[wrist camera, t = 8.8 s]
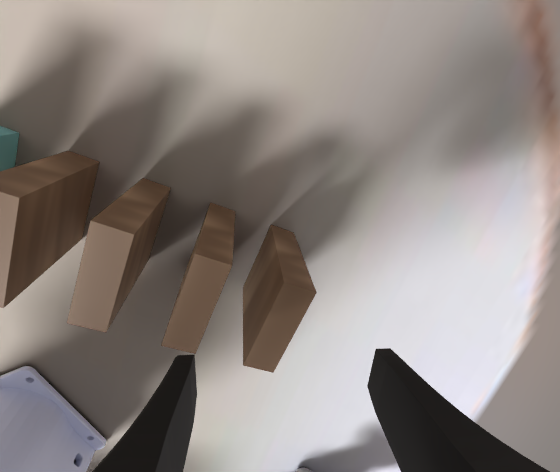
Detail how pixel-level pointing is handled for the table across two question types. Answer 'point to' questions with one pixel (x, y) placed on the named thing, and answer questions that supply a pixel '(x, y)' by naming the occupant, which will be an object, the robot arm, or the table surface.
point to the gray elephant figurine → (303, 470)
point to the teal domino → (8, 148)
